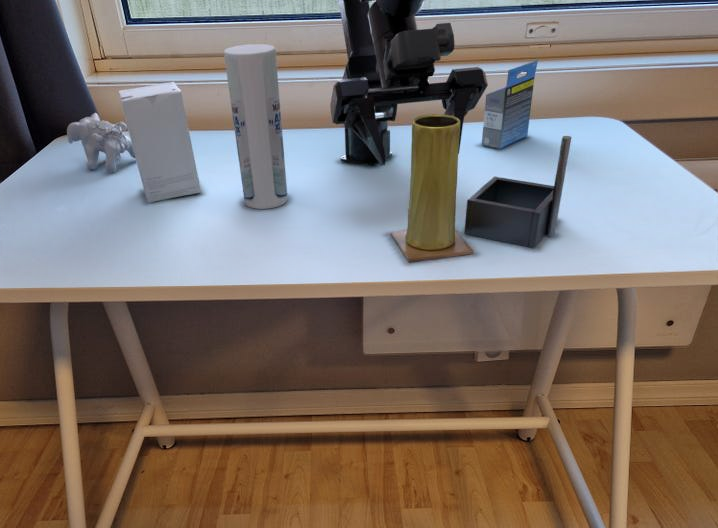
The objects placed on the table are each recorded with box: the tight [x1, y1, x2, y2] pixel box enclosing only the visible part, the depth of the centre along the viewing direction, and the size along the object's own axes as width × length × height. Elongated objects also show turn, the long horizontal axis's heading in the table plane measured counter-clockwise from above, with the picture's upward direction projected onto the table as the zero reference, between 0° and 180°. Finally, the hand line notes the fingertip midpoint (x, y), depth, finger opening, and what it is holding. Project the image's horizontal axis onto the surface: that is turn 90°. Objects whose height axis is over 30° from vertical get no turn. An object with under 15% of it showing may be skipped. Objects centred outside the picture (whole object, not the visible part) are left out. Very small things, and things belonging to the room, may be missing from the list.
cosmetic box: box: [118, 81, 202, 203], centre depth 91 cm, size 8×6×15 cm
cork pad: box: [390, 229, 475, 263], centre depth 78 cm, size 8×8×1 cm
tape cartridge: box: [481, 59, 538, 150], centre depth 105 cm, size 9×4×12 cm, turn 136°
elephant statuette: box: [66, 112, 136, 173], centre depth 105 cm, size 9×12×8 cm
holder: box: [464, 135, 572, 249], centre depth 77 cm, size 10×9×12 cm
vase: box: [405, 113, 460, 250], centre depth 74 cm, size 6×6×14 cm
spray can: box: [223, 43, 288, 210], centre depth 86 cm, size 6×6×20 cm
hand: (420, 159), depth 77 cm, fingers open, 9 cm apart
